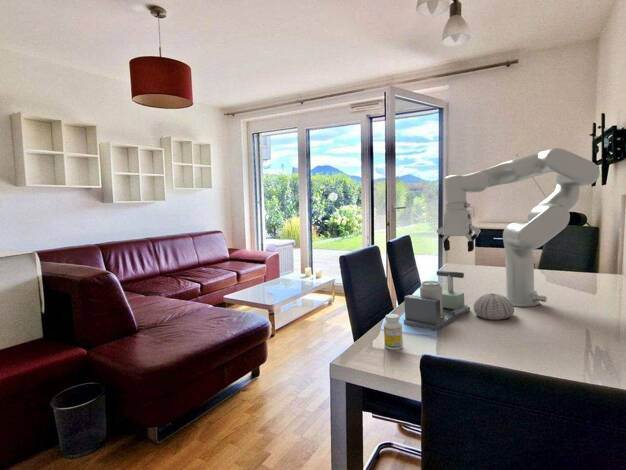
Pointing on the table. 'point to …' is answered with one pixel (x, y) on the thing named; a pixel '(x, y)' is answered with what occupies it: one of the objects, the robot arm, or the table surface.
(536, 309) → the table surface
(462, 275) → the grey-green handled block
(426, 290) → the can
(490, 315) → the sea urchin shell
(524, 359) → the table surface
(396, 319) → the supplement bottle
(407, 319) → the base
